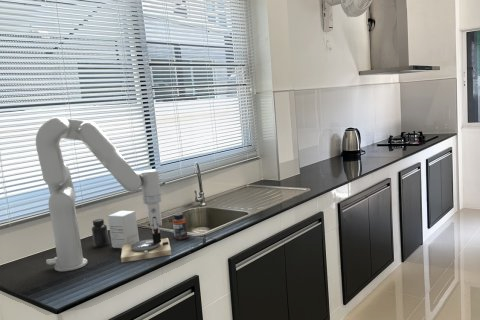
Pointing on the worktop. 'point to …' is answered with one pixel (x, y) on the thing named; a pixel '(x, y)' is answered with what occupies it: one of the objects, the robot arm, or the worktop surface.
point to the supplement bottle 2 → (179, 226)
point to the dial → (145, 245)
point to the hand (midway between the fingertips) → (157, 240)
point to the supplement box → (123, 228)
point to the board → (145, 252)
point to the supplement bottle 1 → (100, 233)
